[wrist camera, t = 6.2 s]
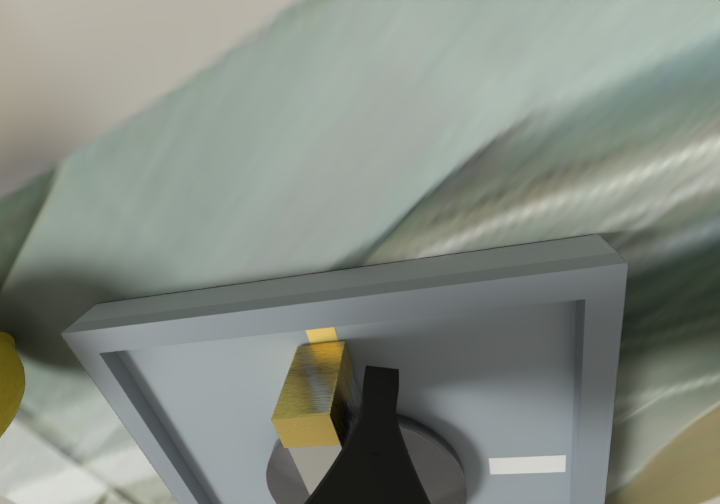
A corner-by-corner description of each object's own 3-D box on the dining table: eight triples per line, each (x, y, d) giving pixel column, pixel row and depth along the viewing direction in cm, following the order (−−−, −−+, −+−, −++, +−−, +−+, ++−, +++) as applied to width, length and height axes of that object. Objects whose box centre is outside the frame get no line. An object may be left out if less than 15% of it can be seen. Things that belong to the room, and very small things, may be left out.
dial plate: (579, 554, 20) (594, 599, 18) (250, 553, 23) (239, 590, 21) (598, 234, 12) (628, 263, 10) (96, 304, 15) (59, 333, 14)
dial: (473, 526, 17) (486, 613, 15) (303, 529, 19) (286, 608, 16) (439, 330, 12) (449, 406, 10) (215, 355, 14) (170, 427, 11)
